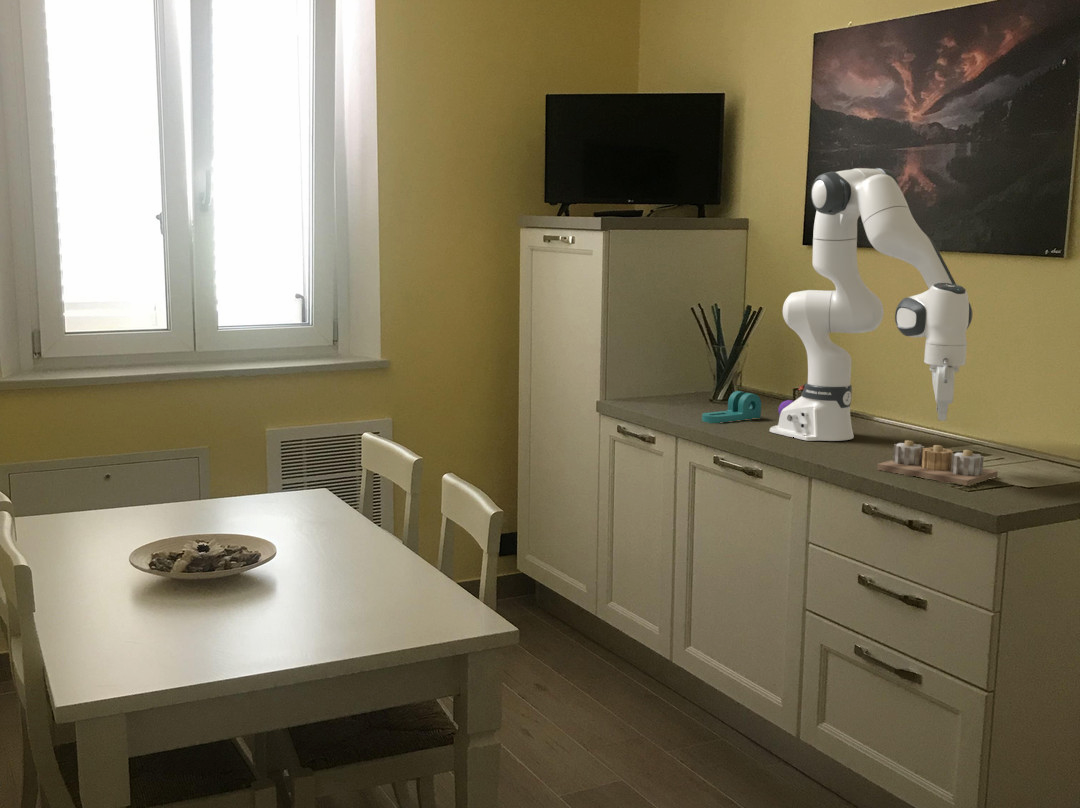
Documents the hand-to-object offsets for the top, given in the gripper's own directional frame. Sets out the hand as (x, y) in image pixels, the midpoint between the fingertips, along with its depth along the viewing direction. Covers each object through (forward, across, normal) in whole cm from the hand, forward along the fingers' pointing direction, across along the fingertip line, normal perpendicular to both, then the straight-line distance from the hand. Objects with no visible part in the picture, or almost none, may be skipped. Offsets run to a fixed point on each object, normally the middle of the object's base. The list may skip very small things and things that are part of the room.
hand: (941, 416), depth 254 cm
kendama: (+15, +65, +34) cm, 75 cm away
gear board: (+13, -1, 0) cm, 13 cm away
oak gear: (+12, -1, 0) cm, 12 cm away
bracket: (+15, +54, +55) cm, 78 cm away
